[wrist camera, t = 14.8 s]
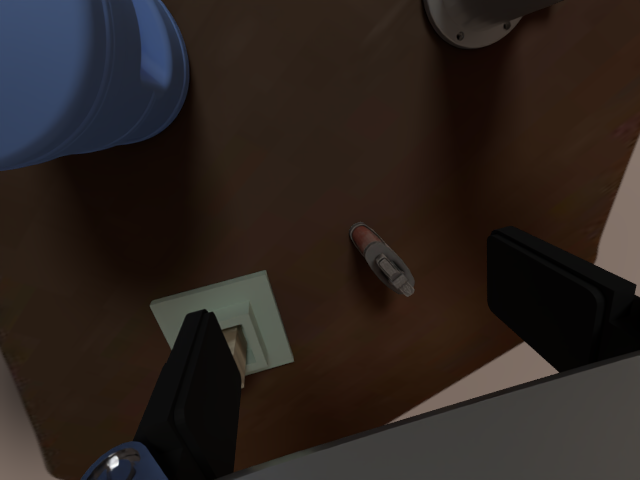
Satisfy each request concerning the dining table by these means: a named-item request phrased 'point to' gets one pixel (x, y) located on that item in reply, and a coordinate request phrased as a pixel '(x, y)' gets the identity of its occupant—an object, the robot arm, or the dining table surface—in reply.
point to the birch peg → (237, 347)
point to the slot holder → (233, 317)
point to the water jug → (86, 76)
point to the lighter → (382, 259)
